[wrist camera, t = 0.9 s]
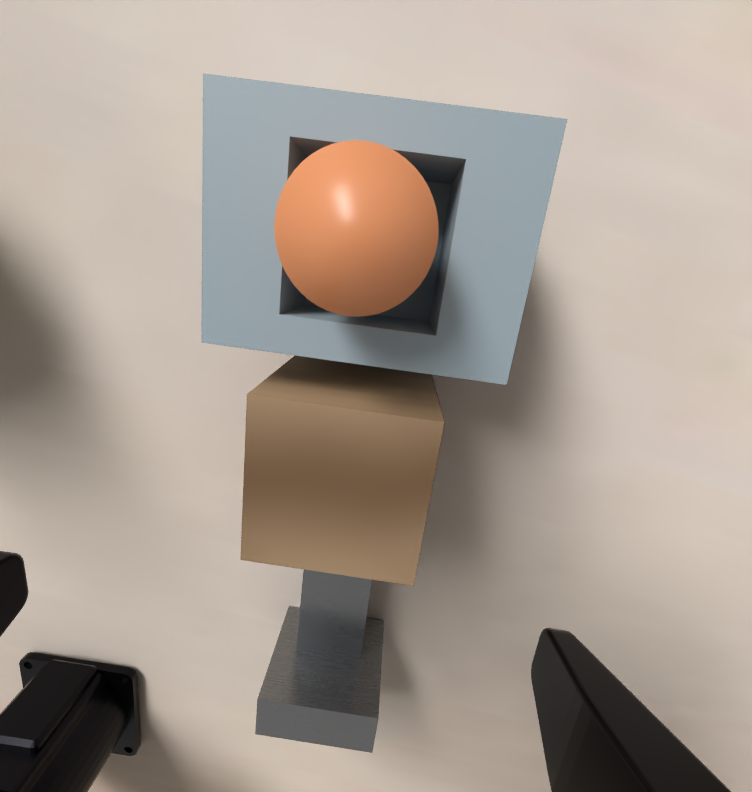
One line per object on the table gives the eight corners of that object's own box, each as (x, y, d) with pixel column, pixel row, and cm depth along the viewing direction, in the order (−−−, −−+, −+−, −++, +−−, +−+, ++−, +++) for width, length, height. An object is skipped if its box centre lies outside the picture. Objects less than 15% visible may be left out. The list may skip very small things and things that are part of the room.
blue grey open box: (467, 340, 18) (506, 385, 11) (277, 314, 18) (201, 342, 11) (498, 181, 16) (567, 118, 9) (286, 154, 16) (203, 73, 9)
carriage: (410, 477, 18) (413, 585, 12) (295, 460, 18) (240, 559, 12) (429, 365, 17) (444, 422, 11) (304, 347, 17) (246, 394, 11)
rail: (378, 650, 23) (372, 752, 18) (286, 636, 23) (255, 734, 18) (435, 311, 17) (447, 327, 13) (315, 294, 17) (281, 305, 13)
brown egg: (418, 309, 12) (423, 326, 8) (309, 294, 12) (269, 305, 8) (436, 189, 11) (452, 151, 7) (319, 173, 11) (279, 129, 7)
